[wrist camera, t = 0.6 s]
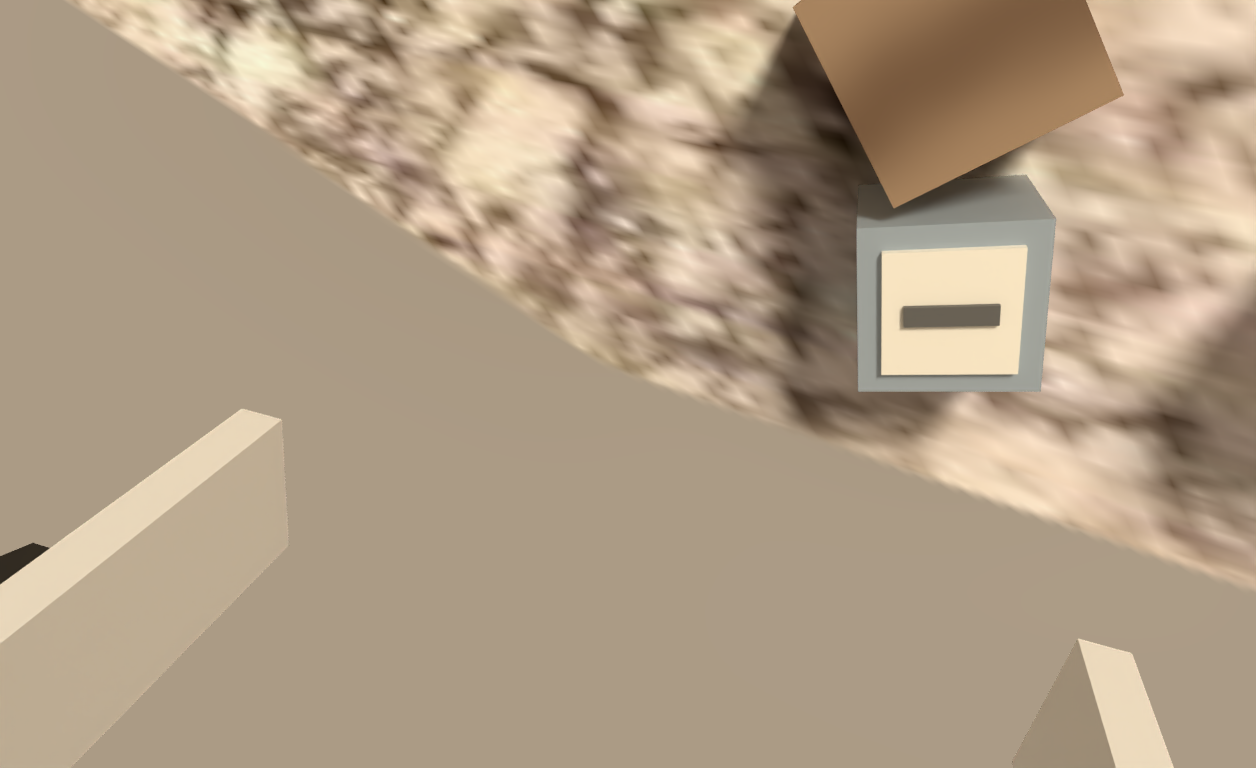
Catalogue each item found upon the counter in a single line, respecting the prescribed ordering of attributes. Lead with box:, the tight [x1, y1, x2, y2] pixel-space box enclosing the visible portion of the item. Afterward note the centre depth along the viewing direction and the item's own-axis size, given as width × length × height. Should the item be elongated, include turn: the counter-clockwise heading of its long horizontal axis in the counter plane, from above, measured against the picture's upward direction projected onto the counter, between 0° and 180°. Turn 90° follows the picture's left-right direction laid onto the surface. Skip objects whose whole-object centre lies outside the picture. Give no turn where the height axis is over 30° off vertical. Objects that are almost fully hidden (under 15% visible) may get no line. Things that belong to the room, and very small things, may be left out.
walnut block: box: [793, 0, 1124, 208], centre depth 28 cm, size 7×7×6 cm
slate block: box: [856, 175, 1056, 392], centre depth 31 cm, size 6×6×6 cm
